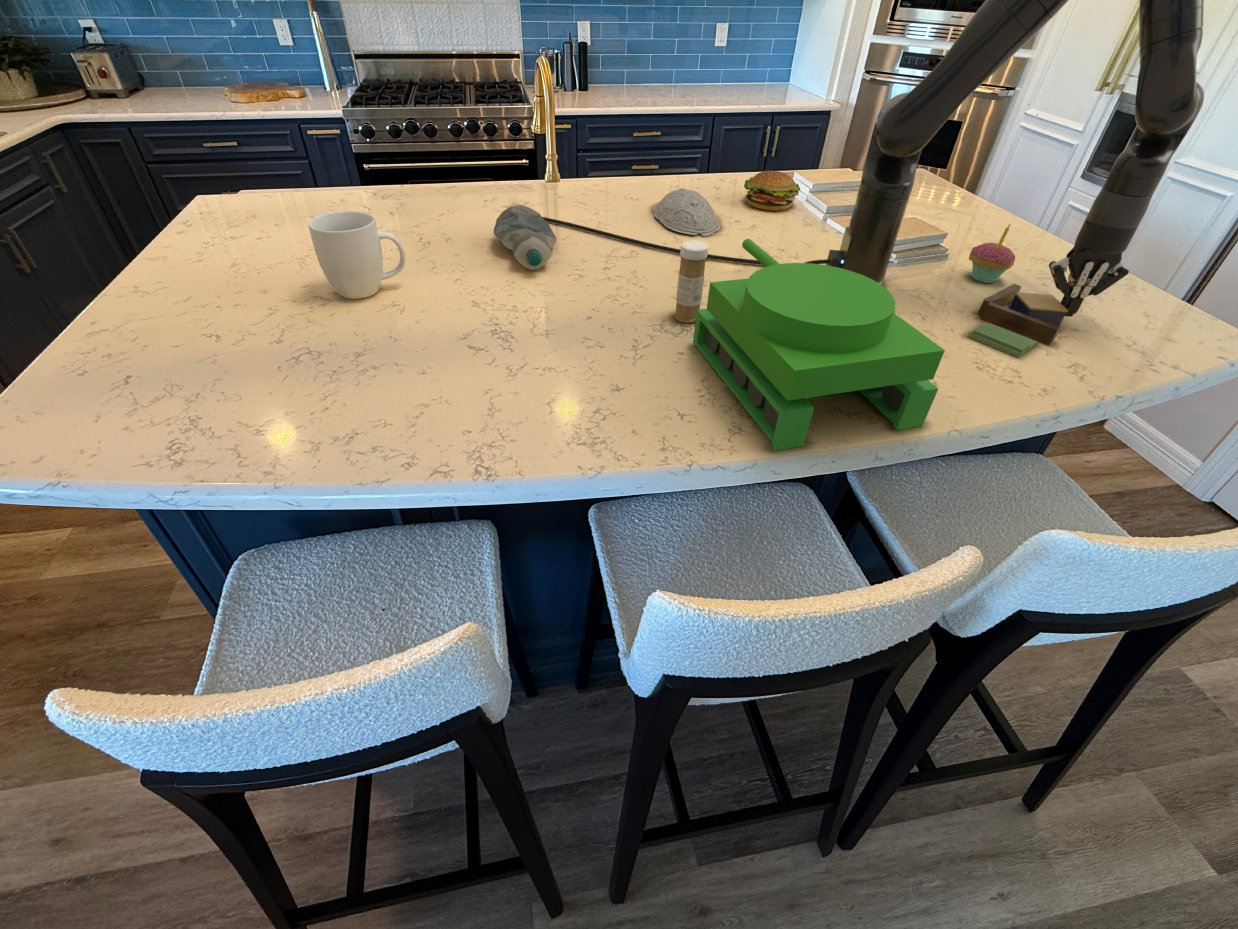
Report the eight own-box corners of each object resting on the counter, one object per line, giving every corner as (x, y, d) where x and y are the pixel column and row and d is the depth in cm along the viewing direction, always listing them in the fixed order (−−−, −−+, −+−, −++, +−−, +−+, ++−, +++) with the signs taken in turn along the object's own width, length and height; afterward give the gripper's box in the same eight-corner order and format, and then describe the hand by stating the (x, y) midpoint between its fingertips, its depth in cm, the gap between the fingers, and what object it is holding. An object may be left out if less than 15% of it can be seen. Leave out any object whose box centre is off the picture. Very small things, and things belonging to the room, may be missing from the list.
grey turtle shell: (704, 199, 165) (705, 172, 160) (730, 238, 147) (732, 209, 142) (646, 205, 164) (645, 179, 159) (665, 246, 146) (664, 217, 141)
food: (806, 204, 167) (813, 172, 162) (779, 216, 158) (785, 183, 153) (761, 192, 173) (766, 161, 168) (733, 203, 165) (738, 171, 160)
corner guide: (997, 341, 111) (1004, 325, 109) (962, 294, 125) (968, 280, 124) (1055, 345, 110) (1063, 330, 108) (1012, 298, 125) (1019, 283, 123)
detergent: (492, 234, 141) (497, 277, 122) (491, 201, 137) (497, 240, 118) (550, 237, 144) (564, 279, 125) (551, 204, 140) (567, 243, 121)
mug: (408, 274, 123) (395, 206, 115) (414, 298, 116) (401, 226, 107) (326, 283, 119) (307, 212, 111) (327, 308, 111) (306, 234, 103)
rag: (967, 336, 112) (970, 329, 111) (986, 326, 115) (989, 319, 114) (1018, 357, 106) (1021, 350, 105) (1036, 345, 110) (1039, 338, 109)
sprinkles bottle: (690, 310, 116) (699, 237, 107) (704, 321, 112) (713, 247, 104) (669, 315, 114) (676, 241, 105) (682, 326, 111) (690, 250, 102)
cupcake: (1009, 288, 128) (1036, 229, 121) (966, 284, 129) (990, 225, 122) (999, 272, 135) (1024, 215, 127) (957, 268, 136) (979, 211, 128)
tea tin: (1020, 327, 115) (1030, 307, 112) (1006, 311, 120) (1015, 292, 117) (1057, 330, 115) (1068, 310, 112) (1042, 314, 120) (1052, 294, 117)
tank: (803, 316, 115) (825, 226, 105) (925, 425, 90) (970, 321, 79) (680, 330, 110) (690, 236, 99) (772, 451, 84) (799, 342, 74)
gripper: (1142, 213, 108) (1092, 307, 119) (1062, 209, 108) (1019, 303, 119) (1167, 228, 102) (1112, 326, 113) (1082, 224, 103) (1036, 321, 114)
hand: (1064, 314), depth 116 cm, fingers closed
